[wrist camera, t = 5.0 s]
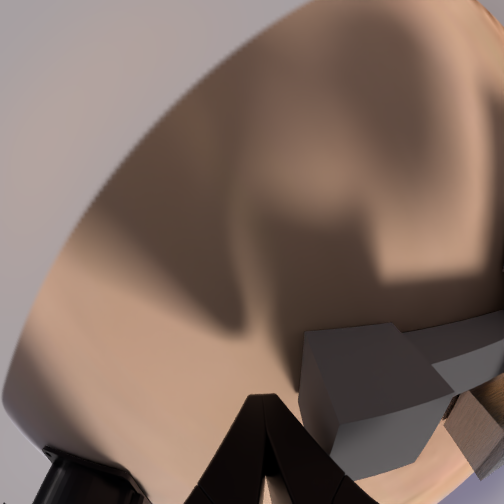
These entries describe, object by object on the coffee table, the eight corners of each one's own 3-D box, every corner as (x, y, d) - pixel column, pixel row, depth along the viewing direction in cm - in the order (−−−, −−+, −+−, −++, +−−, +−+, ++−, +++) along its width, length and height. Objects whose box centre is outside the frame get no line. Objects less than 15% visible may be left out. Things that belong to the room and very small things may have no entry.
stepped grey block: (297, 400, 9) (317, 487, 5) (304, 331, 8) (339, 424, 4) (499, 350, 9) (541, 387, 5) (516, 296, 8) (568, 327, 5)
